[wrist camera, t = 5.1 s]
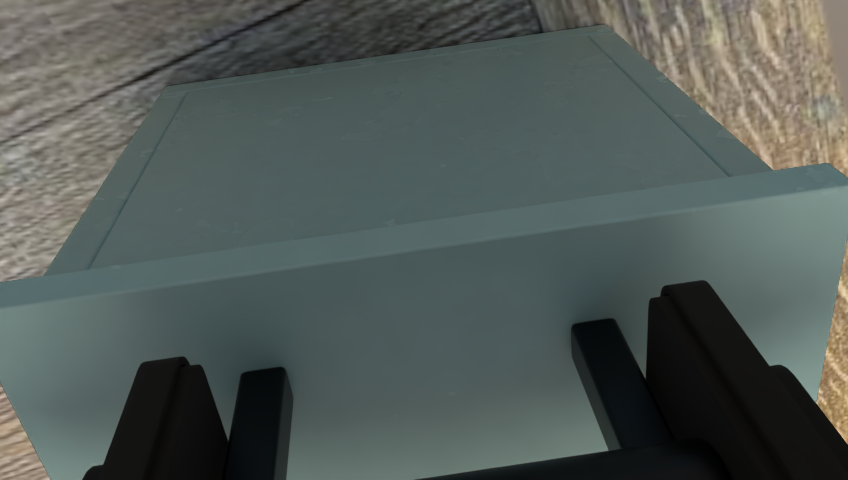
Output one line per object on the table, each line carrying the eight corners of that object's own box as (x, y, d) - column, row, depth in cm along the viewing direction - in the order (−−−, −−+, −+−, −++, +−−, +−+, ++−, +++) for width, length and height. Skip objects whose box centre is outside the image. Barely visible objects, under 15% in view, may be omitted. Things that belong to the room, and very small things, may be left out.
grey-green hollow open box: (164, 85, 22) (12, 319, 12) (606, 23, 22) (814, 202, 12) (269, 438, 28) (227, 772, 19) (606, 388, 29) (739, 693, 19)
